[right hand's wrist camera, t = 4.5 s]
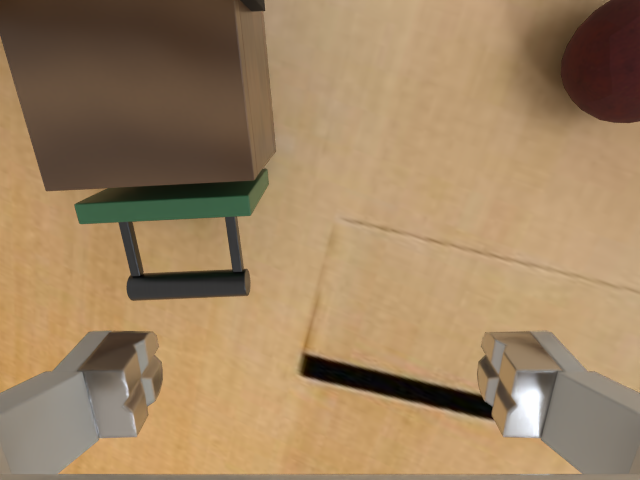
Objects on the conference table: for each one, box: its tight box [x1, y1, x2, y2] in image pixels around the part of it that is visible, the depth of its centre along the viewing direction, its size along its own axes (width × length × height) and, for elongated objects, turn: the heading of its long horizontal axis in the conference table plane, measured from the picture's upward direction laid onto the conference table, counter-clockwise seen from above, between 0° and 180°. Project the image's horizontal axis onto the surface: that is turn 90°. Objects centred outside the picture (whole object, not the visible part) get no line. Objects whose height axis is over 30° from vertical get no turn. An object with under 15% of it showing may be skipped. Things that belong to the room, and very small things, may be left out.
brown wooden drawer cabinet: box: [0, 0, 276, 191], centre depth 24 cm, size 14×11×10 cm
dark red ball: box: [561, 0, 640, 123], centre depth 25 cm, size 7×8×7 cm
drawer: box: [74, 169, 269, 301], centre depth 26 cm, size 18×10×8 cm, turn 3°
